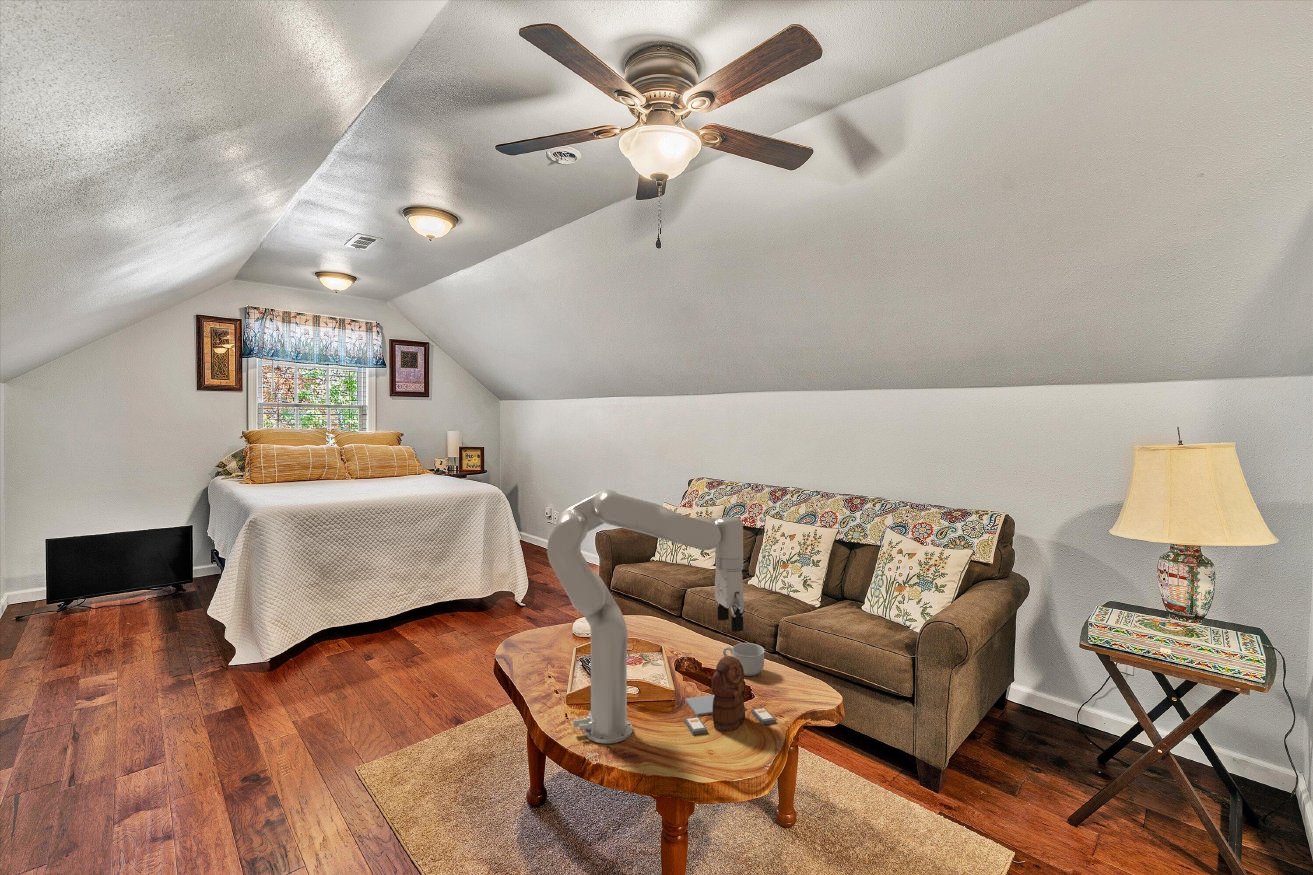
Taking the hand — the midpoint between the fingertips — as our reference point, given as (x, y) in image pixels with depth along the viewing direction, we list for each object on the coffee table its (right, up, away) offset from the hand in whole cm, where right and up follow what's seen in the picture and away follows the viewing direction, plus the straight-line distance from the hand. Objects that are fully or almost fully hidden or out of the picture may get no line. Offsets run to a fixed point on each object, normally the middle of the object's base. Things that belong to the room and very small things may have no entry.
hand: (730, 625), depth 159 cm
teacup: (+9, -27, +35) cm, 45 cm away
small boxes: (0, -27, 0) cm, 27 cm away
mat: (-3, -27, +11) cm, 29 cm away
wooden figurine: (0, -27, 0) cm, 27 cm away
